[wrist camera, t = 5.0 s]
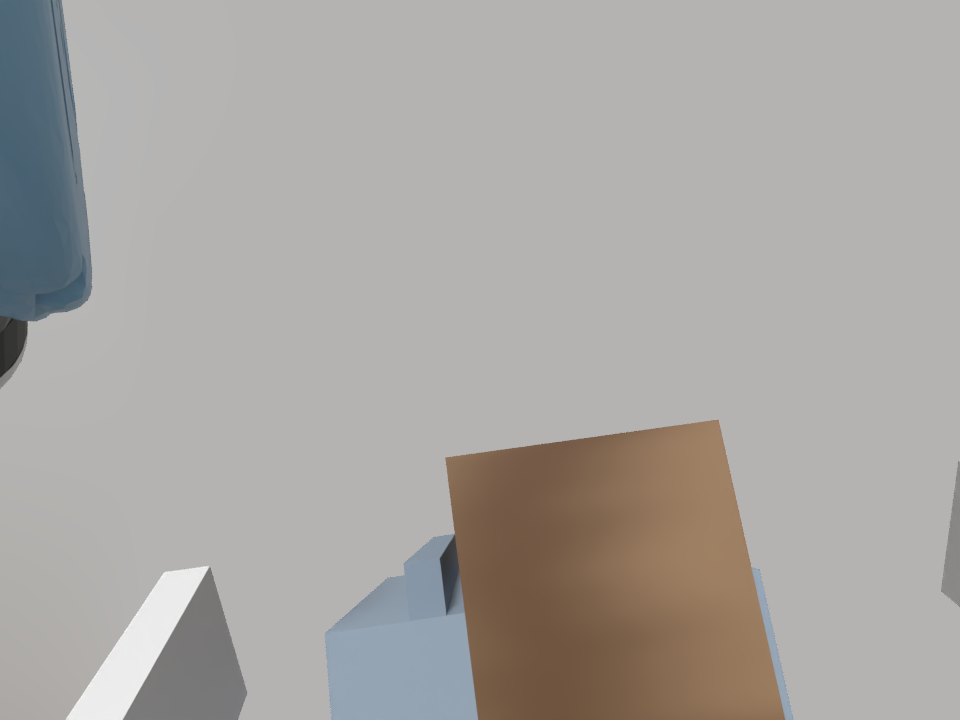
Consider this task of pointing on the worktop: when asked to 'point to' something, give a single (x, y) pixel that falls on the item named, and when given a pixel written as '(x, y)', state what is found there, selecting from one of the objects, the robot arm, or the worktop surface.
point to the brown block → (610, 581)
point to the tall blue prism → (426, 646)
